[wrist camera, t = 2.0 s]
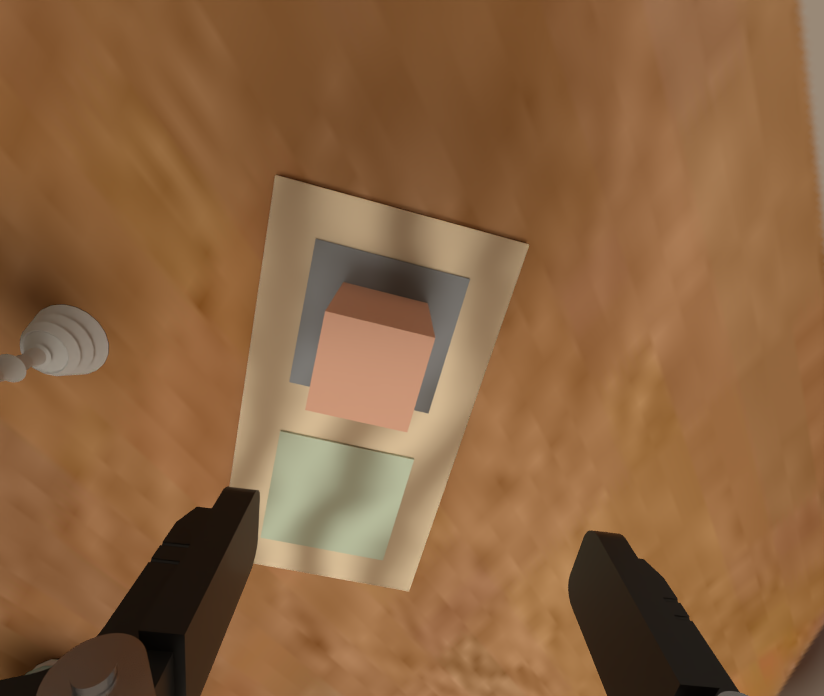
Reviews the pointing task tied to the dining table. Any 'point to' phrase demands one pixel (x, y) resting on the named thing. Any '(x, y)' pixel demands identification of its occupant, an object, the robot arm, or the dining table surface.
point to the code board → (346, 439)
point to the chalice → (58, 345)
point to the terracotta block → (371, 357)
